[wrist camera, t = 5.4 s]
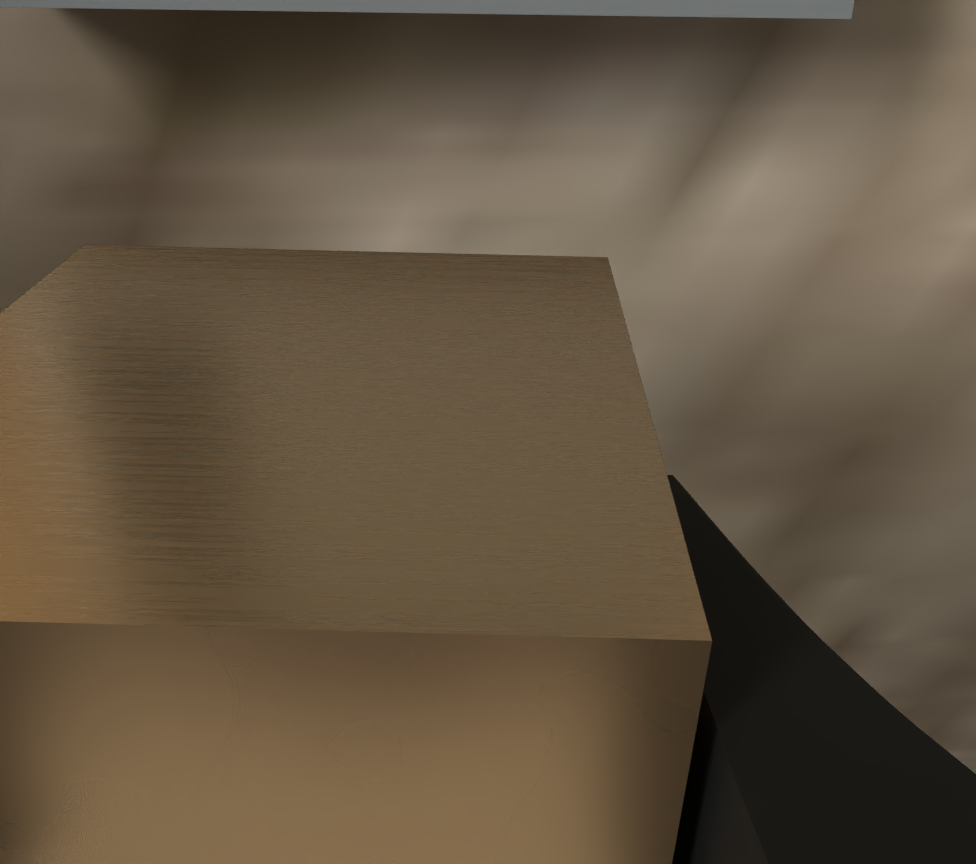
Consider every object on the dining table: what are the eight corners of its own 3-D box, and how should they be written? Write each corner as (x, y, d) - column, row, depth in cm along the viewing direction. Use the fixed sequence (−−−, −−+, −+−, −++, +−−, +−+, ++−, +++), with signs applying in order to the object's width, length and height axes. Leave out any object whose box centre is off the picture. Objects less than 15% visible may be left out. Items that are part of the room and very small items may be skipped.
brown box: (574, 651, 12) (617, 1162, 7) (165, 641, 12) (-69, 1141, 7) (607, 257, 9) (712, 641, 4) (84, 245, 9) (-368, 610, 4)
